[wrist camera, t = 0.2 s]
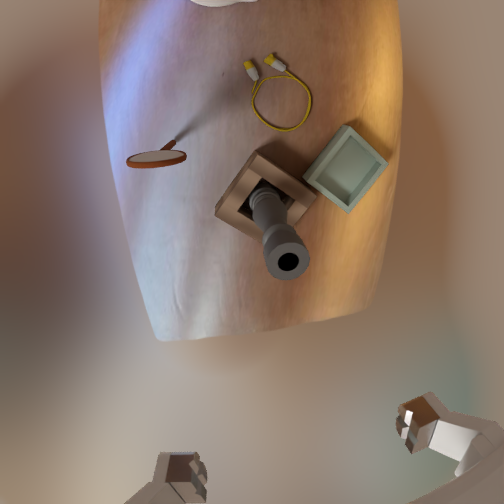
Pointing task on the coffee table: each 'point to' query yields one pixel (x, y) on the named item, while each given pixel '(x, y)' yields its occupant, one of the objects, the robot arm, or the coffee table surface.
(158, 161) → the magnifying glass
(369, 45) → the coffee table surface
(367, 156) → the parts tray
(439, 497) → the robot arm
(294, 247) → the candle holder
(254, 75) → the extension cord
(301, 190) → the socket block
